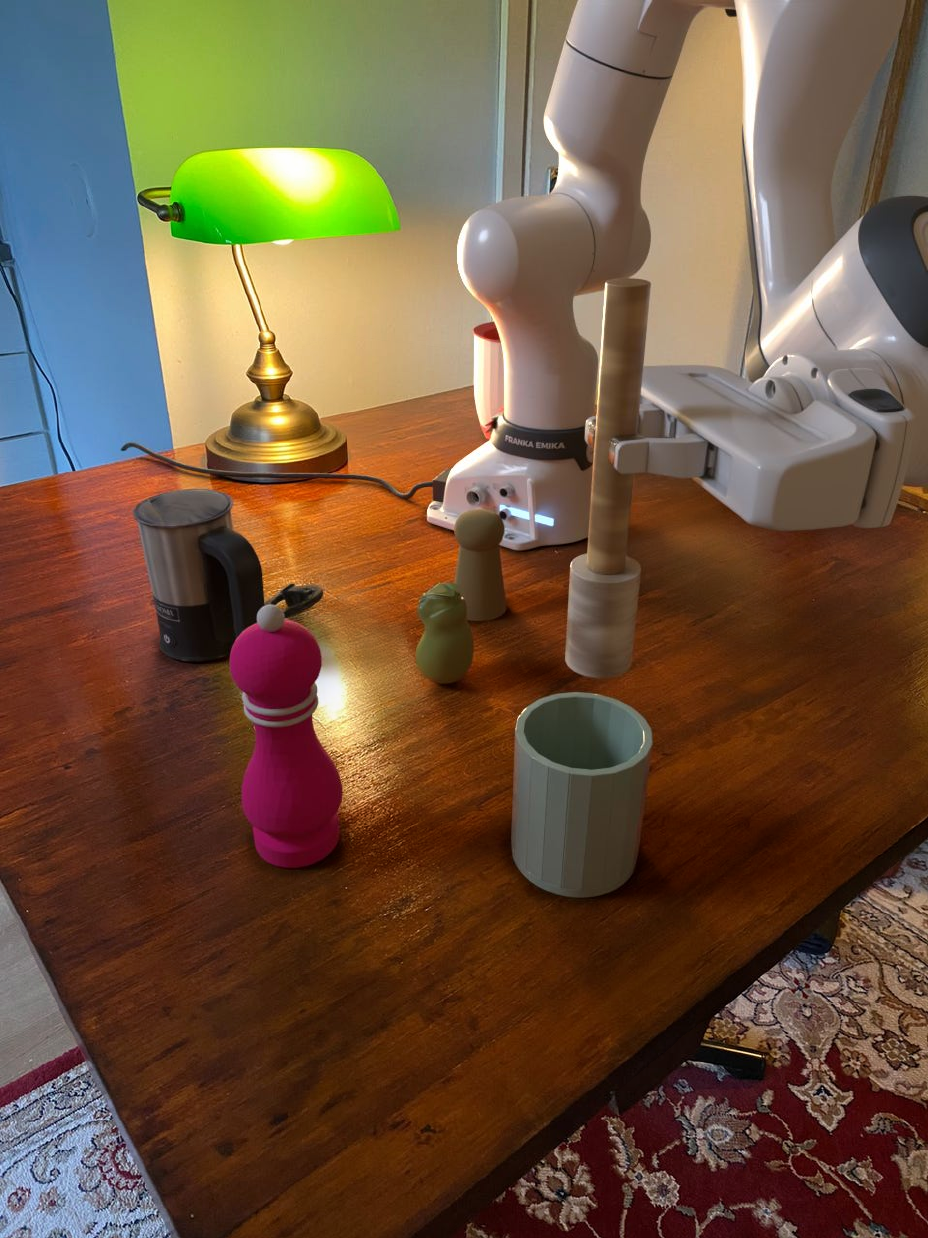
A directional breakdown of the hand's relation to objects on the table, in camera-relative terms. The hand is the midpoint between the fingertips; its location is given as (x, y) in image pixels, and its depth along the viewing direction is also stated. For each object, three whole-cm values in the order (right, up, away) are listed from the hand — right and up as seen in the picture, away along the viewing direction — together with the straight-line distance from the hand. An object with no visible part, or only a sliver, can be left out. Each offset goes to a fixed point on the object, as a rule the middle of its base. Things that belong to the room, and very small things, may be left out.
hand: (600, 444), depth 53 cm
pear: (-10, -16, +34) cm, 39 cm away
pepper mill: (-20, -27, +15) cm, 37 cm away
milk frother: (-31, -11, +42) cm, 53 cm away
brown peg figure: (-6, -9, +46) cm, 47 cm away
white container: (+2, +20, +96) cm, 98 cm away
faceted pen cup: (0, -27, +14) cm, 31 cm away
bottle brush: (+1, -13, +8) cm, 15 cm away
